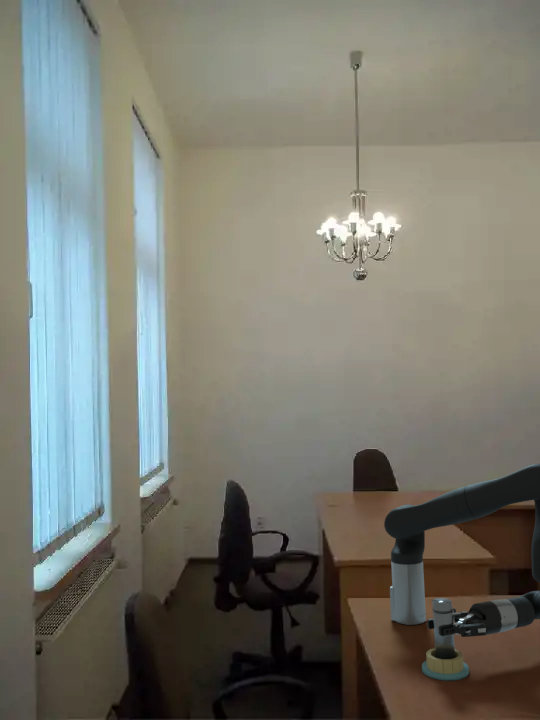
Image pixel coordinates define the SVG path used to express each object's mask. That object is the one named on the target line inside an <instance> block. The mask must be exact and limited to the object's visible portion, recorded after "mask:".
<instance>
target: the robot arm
mask: <svg viewBox="0 0 540 720" xmlns="http://www.w3.org/2000/svg"><path fill="white" fill-rule="evenodd" d="M530 501H533V502H534V507H535V509H534V510H535V511H534V512H535V521H534V528H533V534H532V540H531V550H530V551H531V552H530V554H531V555H530V556H531V573H532V574H531V575H532V578H533V579H534V580H535V581H536V582H538V583H539V584H540V463H533V464H530V465H527V466H525V467H523V468H521V469H519V470H516V471H514V472H512V473H509V474H507V475H504V476H502V477H499V478H496V479H490V480H485V481H484V480H483V481H481V482H477V483H472V484H469V485H465V486H462V487H459V488H456V489H453V490H450V491H448V492H445V493H443V494H440V495H439V496H436V497H434V498H432V499H430V500H428V501H425V502H424V503H423V502H422V503H421V504H416V505H413V504H403V505H401V506H398V507H395V508H393V509H391V510H390V511H389V512H388V513H387V515H386V516H385V518H384V522H383V523H384V524H383V526H384V527H383V528H384V529H385V532H386V533H387V534H388V535H389V536H390V537H392V538H393V539H395V540H394V541H395V542H394V544H393V548H392V549H391V551H390V561H391V564H390V565H391V581H392V584H391V586H390V587H389V598H390V600H389V601H390V602H389V603H390V620H391V621H394V622H396V623H398V624H400V625H402V624H403V625H407V626H408V625H409V626H410V625H411V626H412V625H419V624H423V623H425V622H426V627H427V629H428V630H434V622H433V618H428V619H427V620H426V618H427V614H426V598H425V597H426V596H425V593H426V592H425V577H424V576H425V575H424V573H425V572H424V557H423V556H424V551H425V546H426V545H425V544H426V543H425V542H426V540H425V538H426V537H425V533H426V532H425V531H429V530H432V529H435V528H441V527H446V526H452V525H457V524H461V523H462V524H463V523H466V522H470V521H474V520H477V519H480V518H484V517H486V516H489V515H491V514H493V513H495V512H497V511H498V510H500V509H502V508H505V507H508V506H509V505H513V504H519V503H523V502H530ZM452 610H453V611H452V613H453V624H448V625H442V626H439V635H441V636H446V635H451V634H454V636H455V635H456V636H461V638H466V637H467V638H468V637H482V636H488V635H492V634H499V633H505V632H507V631H510V630H513V629H517V628H523V627H528V626H530V625H531V624H532V623H534V621H535V620H540V590H532V591H529V592H527V593H525V594H522V595H519V596H518V597H517V596H516V597H512V598H504V599H494V600H493V599H492V600H487V601H482V602H475V603H473V604H472V605H471V606H470V607H469V610H468V611H467V610H461V611H459V612H458V611H457V608H453V607H452Z"/></svg>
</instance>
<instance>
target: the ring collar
mask: <svg viewBox="0 0 540 720" xmlns="http://www.w3.org/2000/svg"><path fill="white" fill-rule="evenodd" d="M425 654H426V656H425V657H426V658H425V659H426V660H424V661H423V662H422V664H421V671H422V673H423V674H424V675H425V676H427V677H429V678H430V679H434V680H439V681H446V682H447V681H448V682H449V681H458V680H462V679H465V678H466V677H468V676H469V673H470V668H469V665H468V664H467V663H466V662H464V655H463V653H462V652H461V650H458V649H456V648H455V658H454V659H439V658H436V654H435V647H434V648H429V649H428V650H427V651H426V653H425Z"/></svg>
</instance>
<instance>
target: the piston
mask: <svg viewBox="0 0 540 720" xmlns="http://www.w3.org/2000/svg"><path fill="white" fill-rule="evenodd" d="M431 604H432V617H433V618H432V619H433V622H434V629H433V635H434V637H433V638H434V648H435V654H436V658H439V659H454V658H455V649H456V647H455V645H456V644H455V634H451V635H446V636H441V635H439V626H442V625H448V624H453V623H454V621H453V613H452V611H453V610H452V609H453V602H452V600H451V599H450V598H445V597H438V598H434V599H432V600H431Z"/></svg>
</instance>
